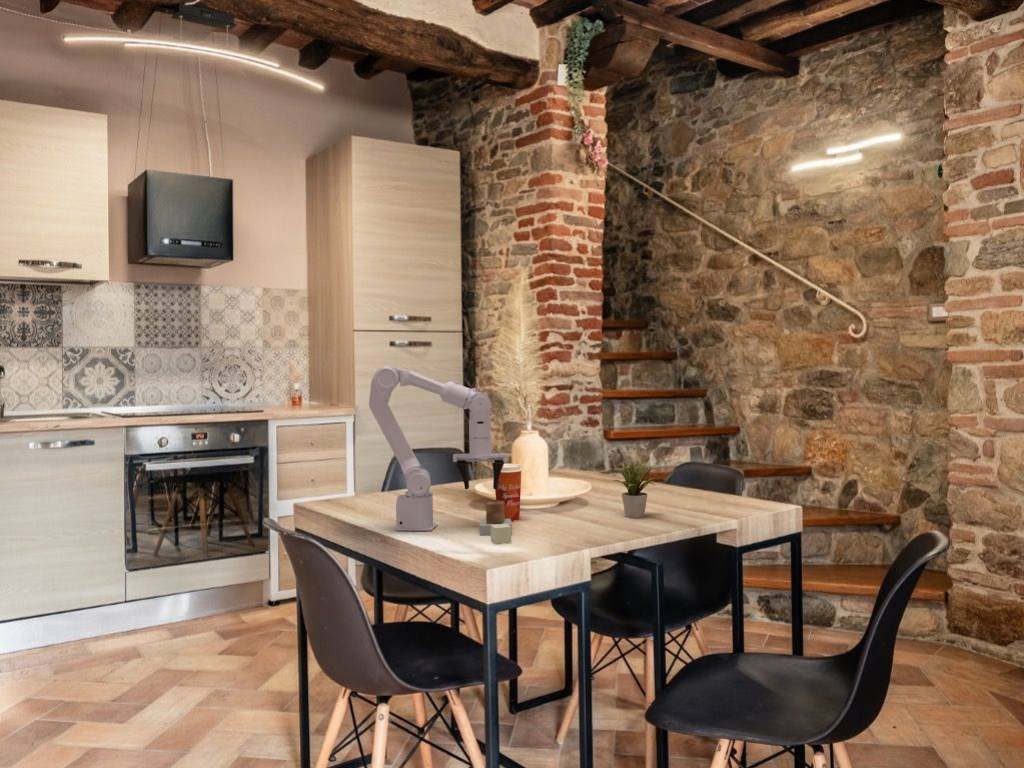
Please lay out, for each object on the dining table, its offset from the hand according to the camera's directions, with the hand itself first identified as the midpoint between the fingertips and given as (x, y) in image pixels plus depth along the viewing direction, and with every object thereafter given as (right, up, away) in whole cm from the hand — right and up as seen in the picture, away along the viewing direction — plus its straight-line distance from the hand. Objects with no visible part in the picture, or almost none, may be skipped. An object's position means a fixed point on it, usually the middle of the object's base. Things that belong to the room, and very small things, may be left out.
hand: (481, 488), depth 219 cm
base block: (+4, -11, -8) cm, 14 cm away
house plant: (+43, -9, +8) cm, 44 cm away
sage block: (+6, -11, -20) cm, 23 cm away
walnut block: (+4, -8, -8) cm, 12 cm away
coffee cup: (+7, -10, +8) cm, 15 cm away
